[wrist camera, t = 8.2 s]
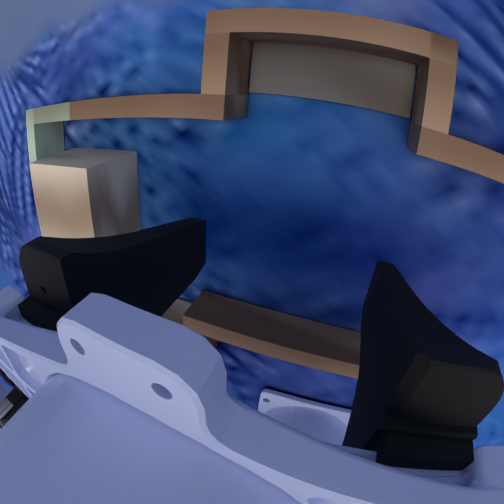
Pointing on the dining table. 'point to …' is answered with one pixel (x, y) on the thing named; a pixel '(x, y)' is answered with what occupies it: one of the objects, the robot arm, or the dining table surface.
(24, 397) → the milk frother
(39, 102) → the dining table surface
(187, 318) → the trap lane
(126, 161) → the oak block
